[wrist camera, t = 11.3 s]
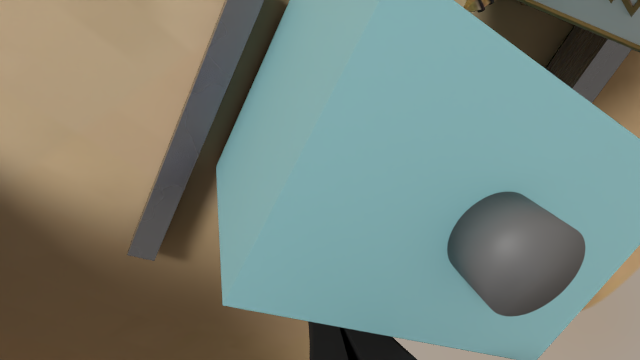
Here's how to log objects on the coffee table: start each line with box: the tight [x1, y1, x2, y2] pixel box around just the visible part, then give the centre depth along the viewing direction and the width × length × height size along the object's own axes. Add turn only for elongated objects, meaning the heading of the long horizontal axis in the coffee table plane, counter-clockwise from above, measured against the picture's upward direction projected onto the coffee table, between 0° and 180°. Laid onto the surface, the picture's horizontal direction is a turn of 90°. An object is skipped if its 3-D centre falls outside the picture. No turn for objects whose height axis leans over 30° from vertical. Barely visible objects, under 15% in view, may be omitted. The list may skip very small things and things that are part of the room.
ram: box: [216, 0, 640, 360], centre depth 10 cm, size 6×9×7 cm, turn 62°
